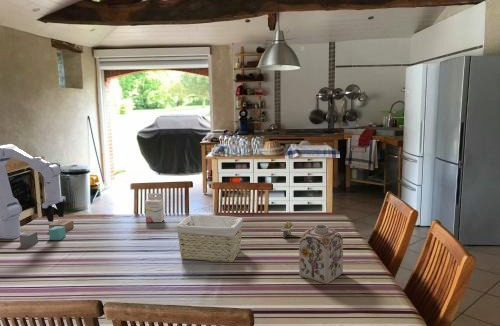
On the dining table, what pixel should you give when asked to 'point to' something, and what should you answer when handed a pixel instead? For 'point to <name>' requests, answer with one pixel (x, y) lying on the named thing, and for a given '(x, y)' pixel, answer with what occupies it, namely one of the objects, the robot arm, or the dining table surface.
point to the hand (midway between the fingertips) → (56, 219)
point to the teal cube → (57, 233)
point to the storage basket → (210, 237)
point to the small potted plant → (287, 228)
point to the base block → (63, 224)
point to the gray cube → (28, 238)
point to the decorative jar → (321, 254)
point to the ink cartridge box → (154, 208)
